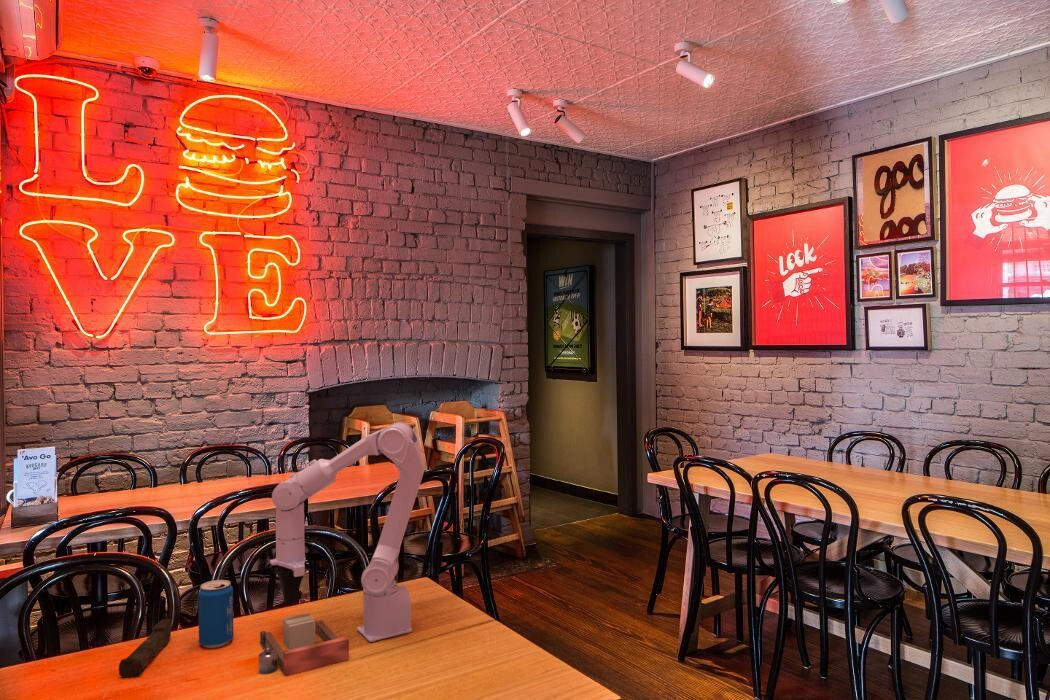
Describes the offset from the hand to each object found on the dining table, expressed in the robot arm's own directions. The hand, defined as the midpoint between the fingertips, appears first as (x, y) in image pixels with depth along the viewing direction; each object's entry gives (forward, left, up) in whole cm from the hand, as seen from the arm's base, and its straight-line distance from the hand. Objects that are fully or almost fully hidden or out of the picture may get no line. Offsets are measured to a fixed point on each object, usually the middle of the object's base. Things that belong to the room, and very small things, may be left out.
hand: (290, 601), depth 147 cm
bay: (0, +10, -7) cm, 12 cm away
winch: (+8, +13, -7) cm, 17 cm away
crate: (0, +6, -7) cm, 9 cm away
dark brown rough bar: (+26, -5, -7) cm, 28 cm away
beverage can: (+14, -4, -7) cm, 16 cm away
